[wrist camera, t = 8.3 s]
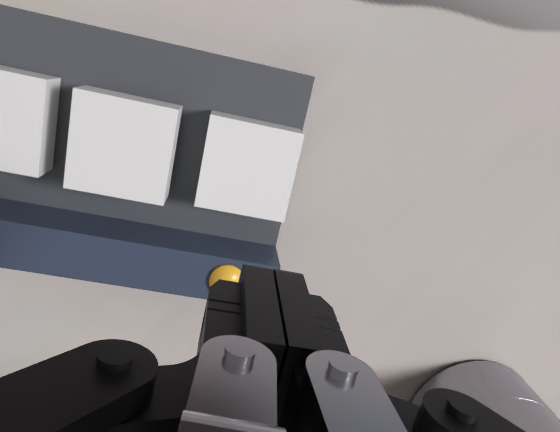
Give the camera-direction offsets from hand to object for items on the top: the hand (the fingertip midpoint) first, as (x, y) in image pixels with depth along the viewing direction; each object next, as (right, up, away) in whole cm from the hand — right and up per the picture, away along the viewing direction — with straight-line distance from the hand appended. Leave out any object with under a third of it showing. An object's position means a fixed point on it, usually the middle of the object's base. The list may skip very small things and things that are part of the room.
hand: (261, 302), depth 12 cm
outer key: (-13, +7, +12) cm, 19 cm away
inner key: (-1, +5, +14) cm, 15 cm away
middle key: (-7, +6, +12) cm, 15 cm away
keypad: (-7, +6, +15) cm, 18 cm away
